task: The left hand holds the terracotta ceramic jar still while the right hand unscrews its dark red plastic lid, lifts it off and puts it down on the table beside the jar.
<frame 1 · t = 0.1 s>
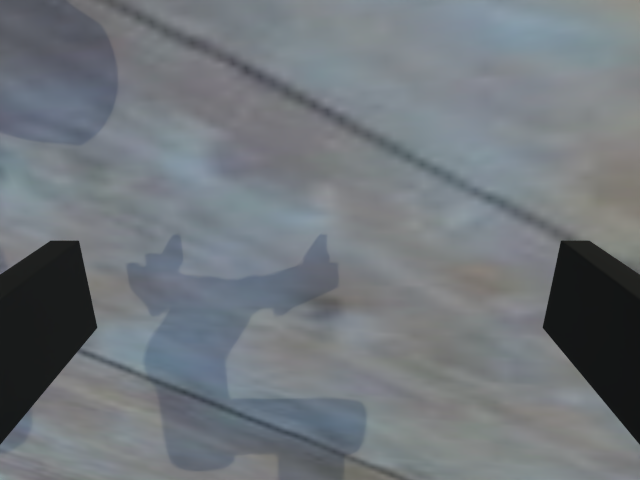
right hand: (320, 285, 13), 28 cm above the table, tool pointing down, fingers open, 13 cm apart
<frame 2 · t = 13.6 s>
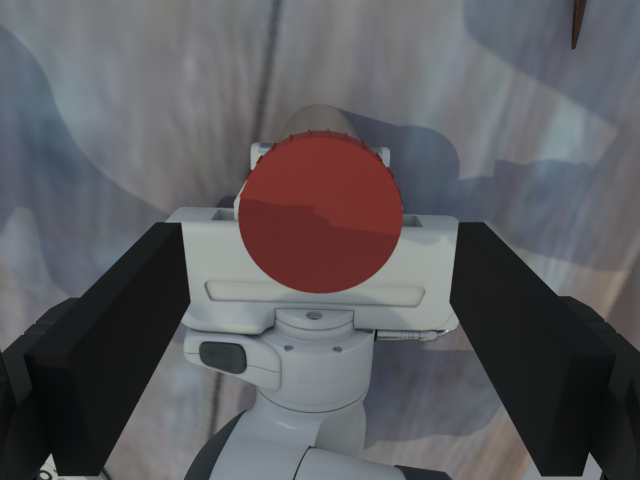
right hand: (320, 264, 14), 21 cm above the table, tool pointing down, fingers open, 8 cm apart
left hand: (320, 146, 28), fingers closed on jar, 5 cm apart
lid: (320, 218, 18), point 17 cm above the table, screwed on, not yet turned
jar: (320, 143, 34), on the table, touching left hand
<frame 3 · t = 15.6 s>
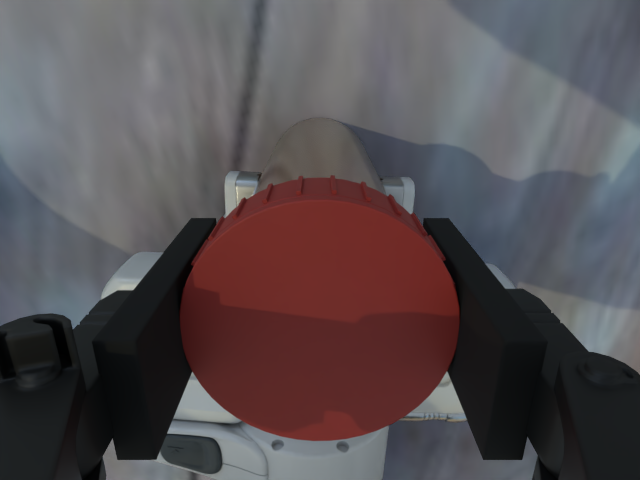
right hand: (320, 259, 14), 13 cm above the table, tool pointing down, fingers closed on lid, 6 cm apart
lid: (319, 326, 11), point 17 cm above the table, screwed on, not yet turned, touching right hand
jar: (319, 166, 27), on the table, touching left hand
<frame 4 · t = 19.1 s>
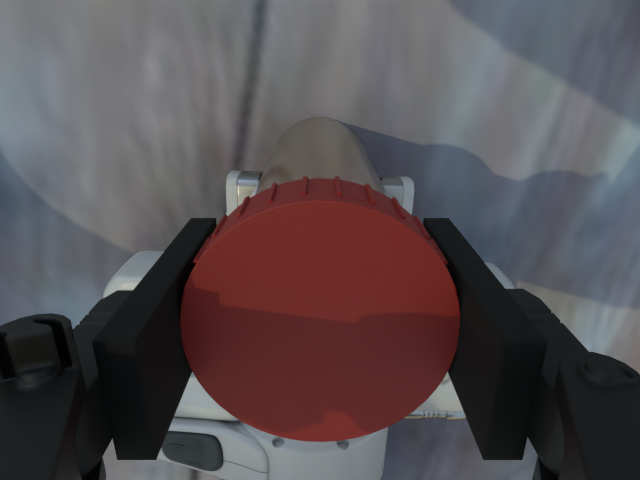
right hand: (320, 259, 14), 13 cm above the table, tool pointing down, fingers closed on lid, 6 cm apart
lid: (320, 326, 11), point 17 cm above the table, turned 132° so far, risen 0.2 cm, still on its thread, touching right hand
jar: (319, 166, 27), on the table, touching left hand
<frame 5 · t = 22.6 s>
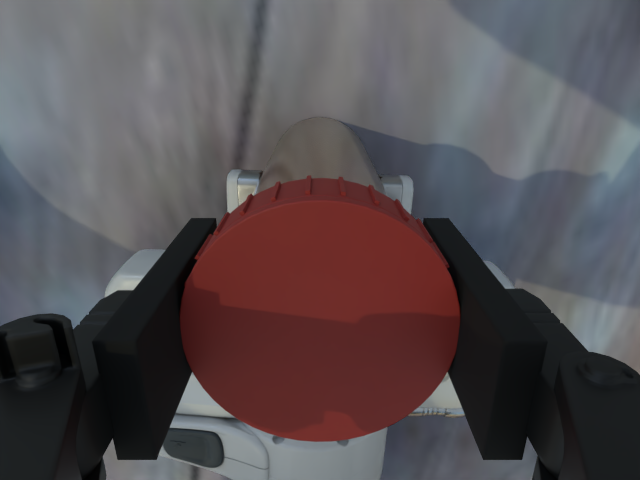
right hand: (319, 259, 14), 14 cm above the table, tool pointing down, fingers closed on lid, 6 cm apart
lid: (320, 326, 11), point 17 cm above the table, turned 263° so far, risen 0.4 cm, still on its thread, touching right hand
jar: (319, 165, 27), on the table, touching left hand
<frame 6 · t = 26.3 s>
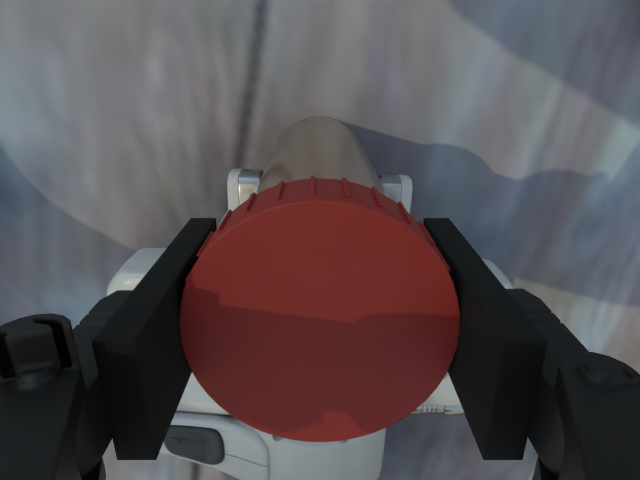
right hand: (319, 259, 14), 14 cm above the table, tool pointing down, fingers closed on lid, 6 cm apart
lid: (319, 327, 11), point 18 cm above the table, turned 395° so far, risen 0.6 cm, still on its thread, touching right hand
jar: (319, 165, 27), on the table, touching left hand
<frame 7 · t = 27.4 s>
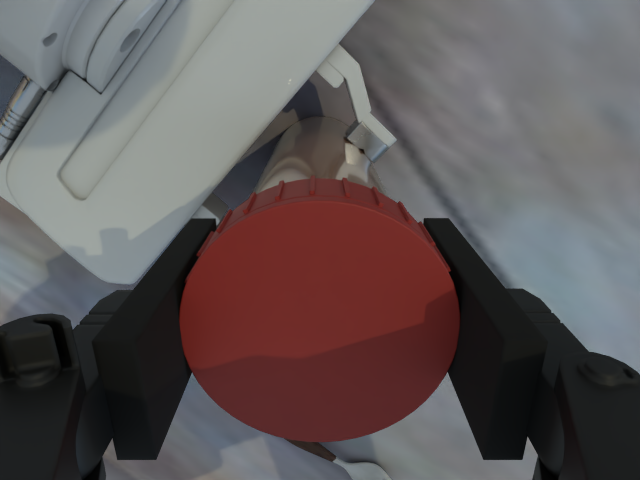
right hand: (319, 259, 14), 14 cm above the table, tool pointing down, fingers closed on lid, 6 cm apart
left hand: (333, 202, 22), fingers closed on jar, 5 cm apart
fork: (322, 445, 35), on the table
lid: (319, 327, 11), point 18 cm above the table, off its thread, touching right hand
jar: (319, 164, 27), on the table, touching left hand
when the right hand's fingers open (0 cm above the table, at t = 33.4 s): lid drops 2 cm, point 2 cm above the table.
when the left hand's fingers open (6 cm above the table, at t = 34.2 s): jar stays where it is, on the table.
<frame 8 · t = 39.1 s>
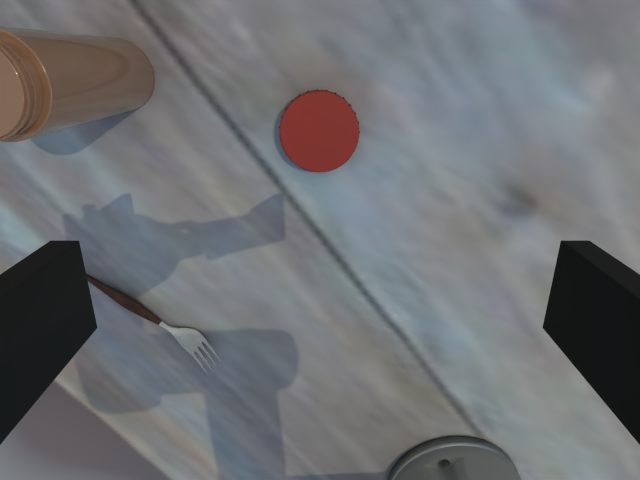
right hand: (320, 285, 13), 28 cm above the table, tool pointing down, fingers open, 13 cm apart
fork: (152, 313, 45), on the table
lid: (319, 132, 37), point 2 cm above the table, off its thread
jar: (120, 75, 37), on the table
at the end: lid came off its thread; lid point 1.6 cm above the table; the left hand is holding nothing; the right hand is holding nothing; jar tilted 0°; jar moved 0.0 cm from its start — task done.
